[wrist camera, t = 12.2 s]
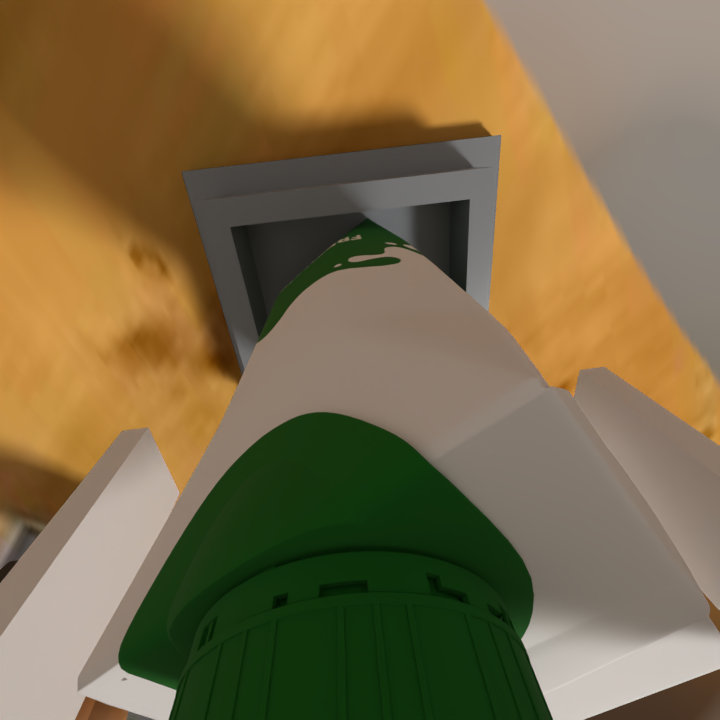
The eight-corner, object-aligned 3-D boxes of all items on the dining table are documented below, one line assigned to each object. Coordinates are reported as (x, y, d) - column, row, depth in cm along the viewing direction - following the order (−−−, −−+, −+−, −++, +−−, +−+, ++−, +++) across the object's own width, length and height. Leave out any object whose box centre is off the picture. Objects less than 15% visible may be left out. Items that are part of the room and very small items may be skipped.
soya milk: (369, 191, 19) (1137, 529, 1) (461, 313, 22) (976, 869, 4) (253, 298, 21) (-192, 1013, 3) (354, 394, 24) (415, 982, 7)
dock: (260, 418, 26) (248, 457, 22) (188, 171, 18) (154, 171, 15) (477, 391, 26) (499, 426, 23) (493, 137, 19) (530, 128, 15)
